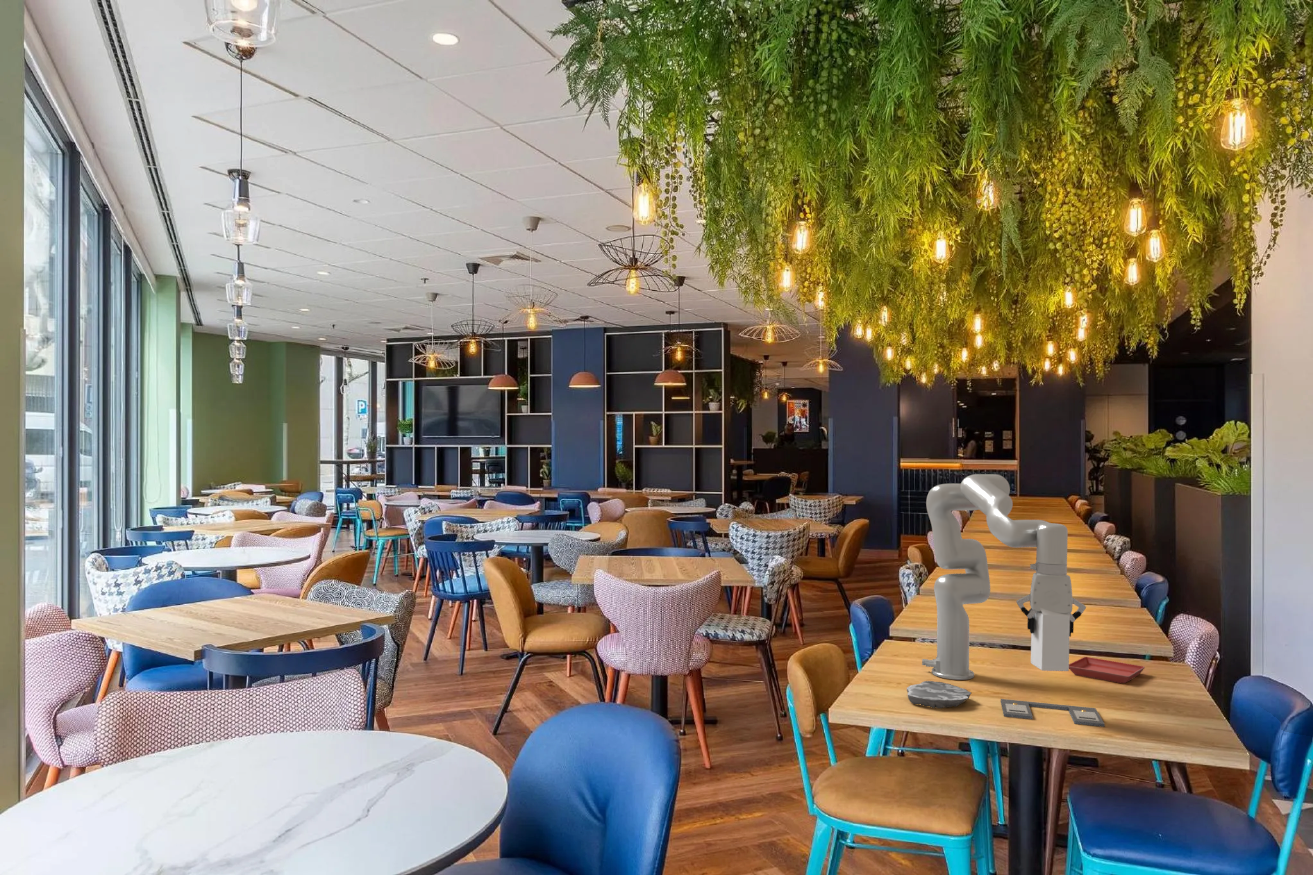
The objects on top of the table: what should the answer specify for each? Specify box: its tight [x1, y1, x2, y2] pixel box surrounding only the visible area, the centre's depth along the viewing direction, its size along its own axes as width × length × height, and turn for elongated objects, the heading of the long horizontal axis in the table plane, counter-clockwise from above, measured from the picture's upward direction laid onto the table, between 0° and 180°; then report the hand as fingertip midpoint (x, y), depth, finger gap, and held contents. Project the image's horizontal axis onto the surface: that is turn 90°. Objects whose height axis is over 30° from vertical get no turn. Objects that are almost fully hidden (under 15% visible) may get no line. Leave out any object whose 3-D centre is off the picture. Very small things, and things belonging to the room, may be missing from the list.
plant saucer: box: [1069, 656, 1146, 684], centre depth 270 cm, size 18×18×3 cm
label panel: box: [1000, 698, 1106, 728], centre depth 229 cm, size 24×14×1 cm, turn 71°
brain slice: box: [906, 680, 972, 709], centre depth 240 cm, size 20×17×3 cm
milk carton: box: [1030, 608, 1070, 672], centre depth 229 cm, size 7×7×19 cm
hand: (1050, 633), depth 229 cm, fingers closed on milk carton, 8 cm apart
